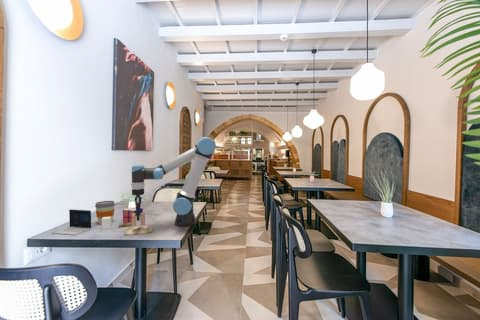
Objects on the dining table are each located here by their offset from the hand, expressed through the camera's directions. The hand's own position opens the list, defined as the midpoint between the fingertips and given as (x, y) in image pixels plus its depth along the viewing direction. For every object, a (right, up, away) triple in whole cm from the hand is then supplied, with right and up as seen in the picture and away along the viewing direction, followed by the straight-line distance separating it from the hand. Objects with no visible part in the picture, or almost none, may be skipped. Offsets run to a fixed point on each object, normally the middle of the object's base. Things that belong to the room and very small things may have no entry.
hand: (138, 223), depth 157 cm
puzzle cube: (-13, -5, +21) cm, 25 cm away
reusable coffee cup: (-33, -5, +21) cm, 39 cm away
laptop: (-44, -6, +1) cm, 44 cm away
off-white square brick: (-25, -5, +8) cm, 27 cm away
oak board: (0, -5, 0) cm, 5 cm away
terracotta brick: (0, 0, 0) cm, 0 cm away
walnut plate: (-14, -5, +12) cm, 19 cm away
